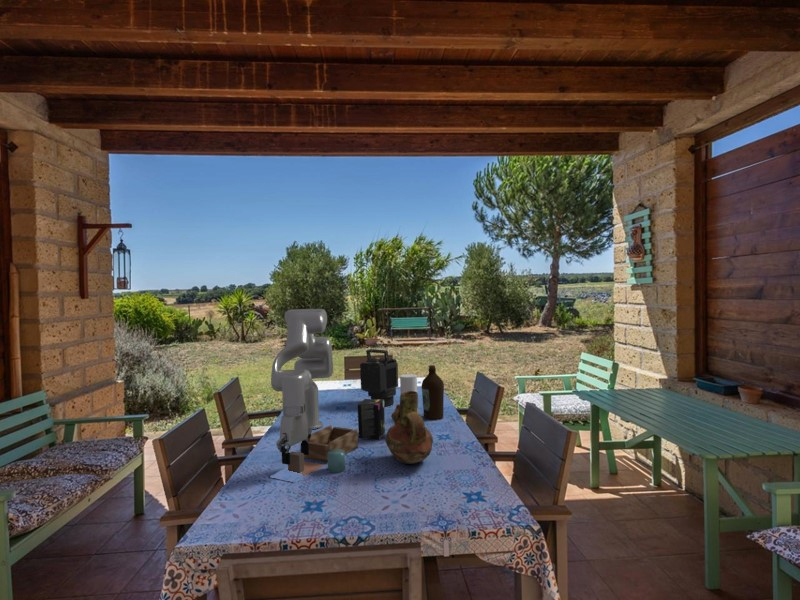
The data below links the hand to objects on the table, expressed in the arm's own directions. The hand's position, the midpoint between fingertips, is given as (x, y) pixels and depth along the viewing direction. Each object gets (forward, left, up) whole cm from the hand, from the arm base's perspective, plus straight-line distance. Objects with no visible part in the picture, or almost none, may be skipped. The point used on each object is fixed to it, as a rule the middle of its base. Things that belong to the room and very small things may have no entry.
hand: (295, 459), depth 160 cm
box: (0, +20, -4) cm, 20 cm away
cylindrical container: (+18, +52, -4) cm, 55 cm away
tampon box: (+4, +44, -5) cm, 44 cm away
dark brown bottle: (+17, +79, -4) cm, 81 cm away
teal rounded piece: (+12, +7, -4) cm, 15 cm away
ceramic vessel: (+31, +25, -4) cm, 40 cm away
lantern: (-19, +91, -4) cm, 93 cm away
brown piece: (0, 0, -5) cm, 5 cm away
